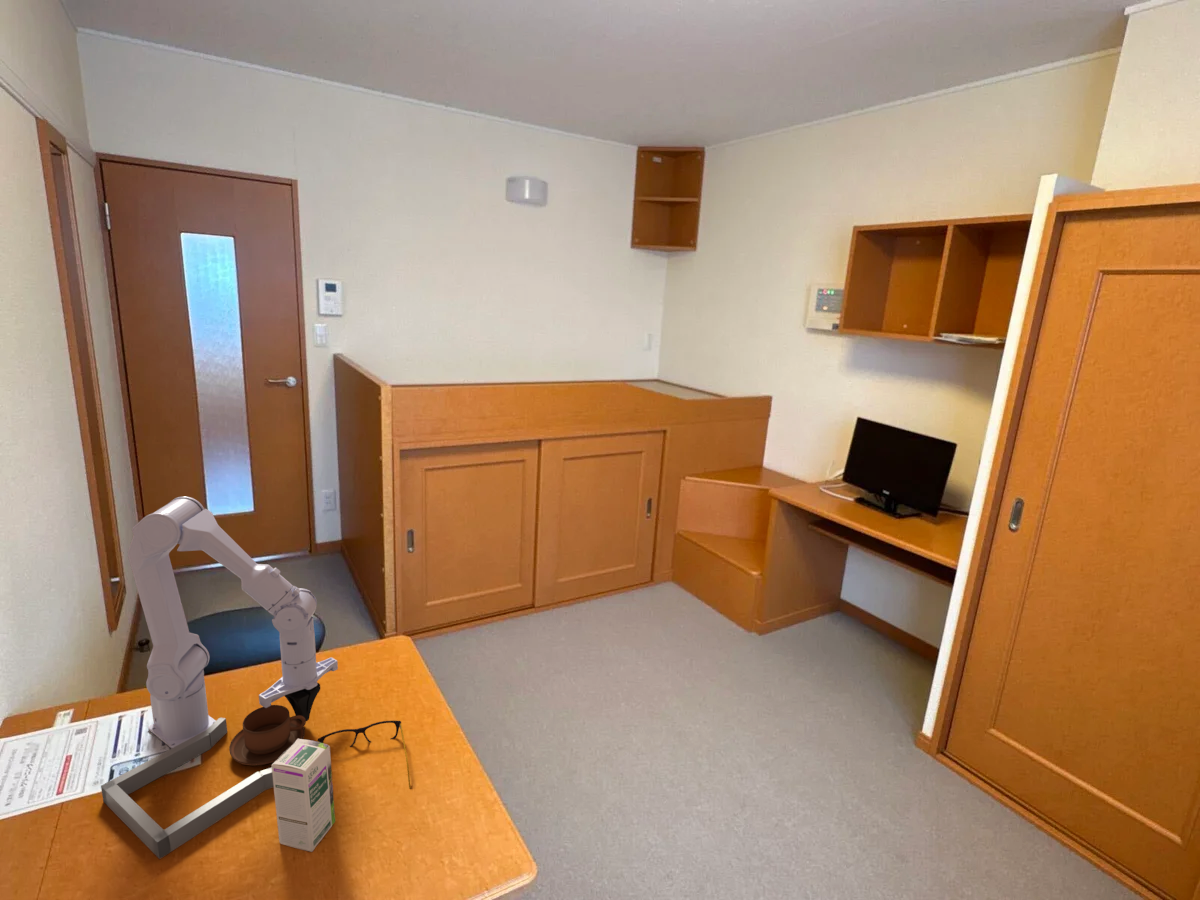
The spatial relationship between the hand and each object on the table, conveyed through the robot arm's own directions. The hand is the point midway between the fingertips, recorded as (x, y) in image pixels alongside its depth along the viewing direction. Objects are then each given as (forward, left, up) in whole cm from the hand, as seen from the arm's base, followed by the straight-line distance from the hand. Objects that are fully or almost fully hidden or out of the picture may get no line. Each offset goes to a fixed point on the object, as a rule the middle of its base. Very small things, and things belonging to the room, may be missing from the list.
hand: (302, 719), depth 117 cm
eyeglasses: (+18, -1, -2) cm, 18 cm away
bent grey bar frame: (0, -19, -1) cm, 19 cm away
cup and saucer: (0, -7, -2) cm, 7 cm away
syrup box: (+22, -14, -2) cm, 26 cm away
